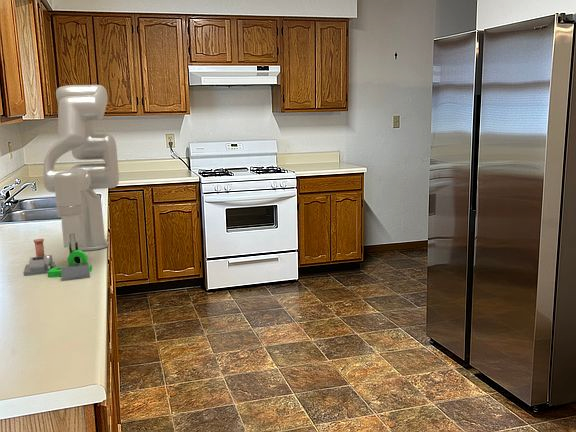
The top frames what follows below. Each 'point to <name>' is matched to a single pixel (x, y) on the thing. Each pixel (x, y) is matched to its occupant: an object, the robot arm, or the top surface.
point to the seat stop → (75, 271)
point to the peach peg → (39, 247)
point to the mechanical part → (57, 270)
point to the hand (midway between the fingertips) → (75, 266)
